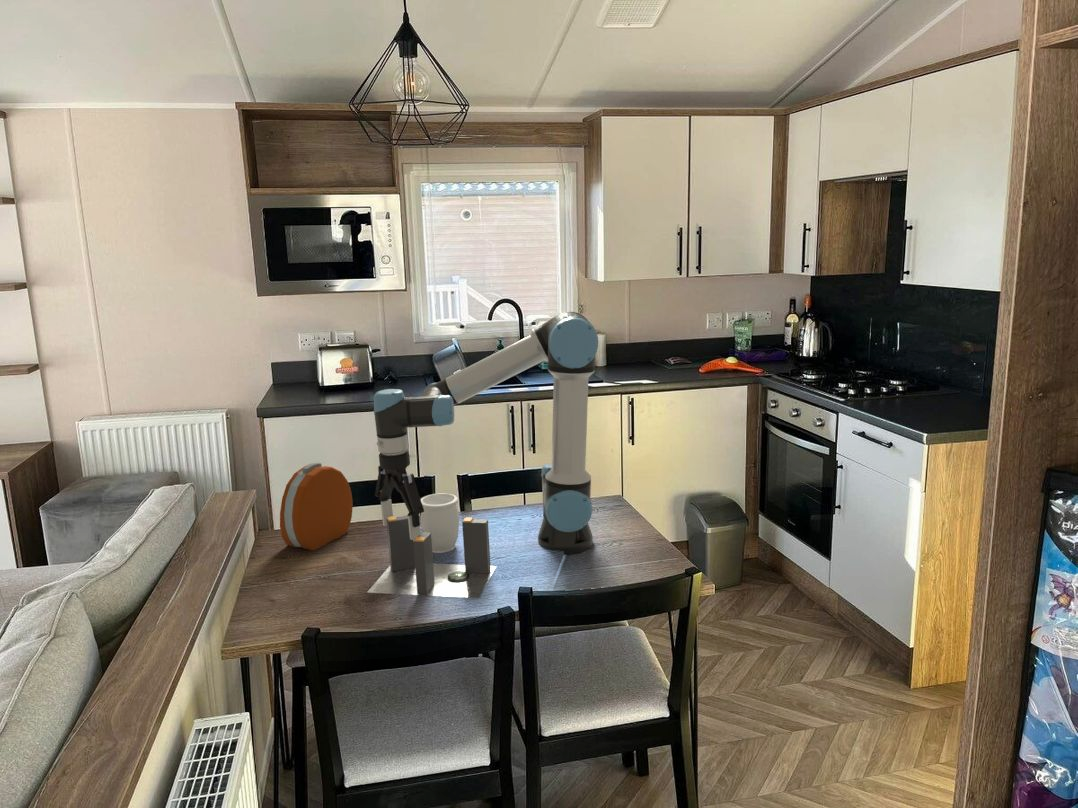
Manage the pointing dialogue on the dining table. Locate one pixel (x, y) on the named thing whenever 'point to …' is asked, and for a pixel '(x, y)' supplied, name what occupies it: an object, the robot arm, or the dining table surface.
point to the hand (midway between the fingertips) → (401, 531)
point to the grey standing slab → (424, 563)
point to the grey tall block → (400, 543)
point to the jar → (441, 520)
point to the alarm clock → (315, 507)
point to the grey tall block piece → (476, 545)
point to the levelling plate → (446, 578)
